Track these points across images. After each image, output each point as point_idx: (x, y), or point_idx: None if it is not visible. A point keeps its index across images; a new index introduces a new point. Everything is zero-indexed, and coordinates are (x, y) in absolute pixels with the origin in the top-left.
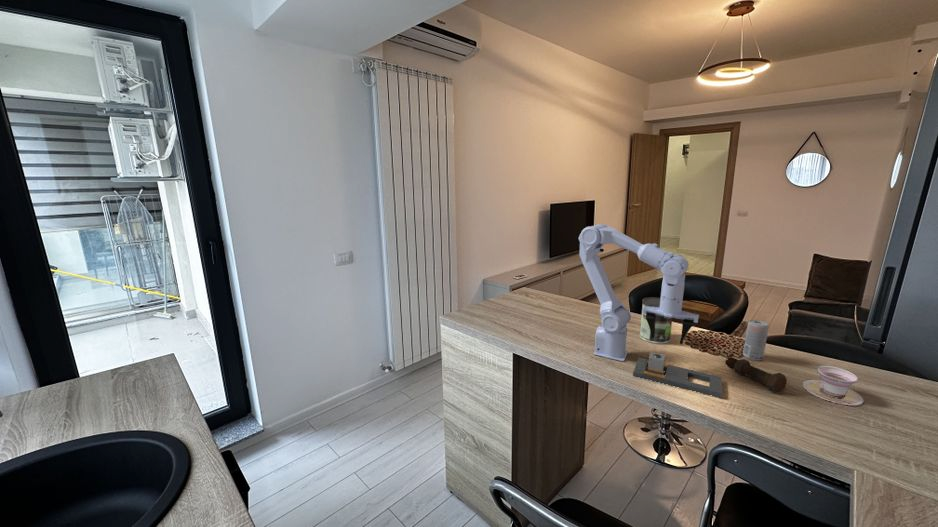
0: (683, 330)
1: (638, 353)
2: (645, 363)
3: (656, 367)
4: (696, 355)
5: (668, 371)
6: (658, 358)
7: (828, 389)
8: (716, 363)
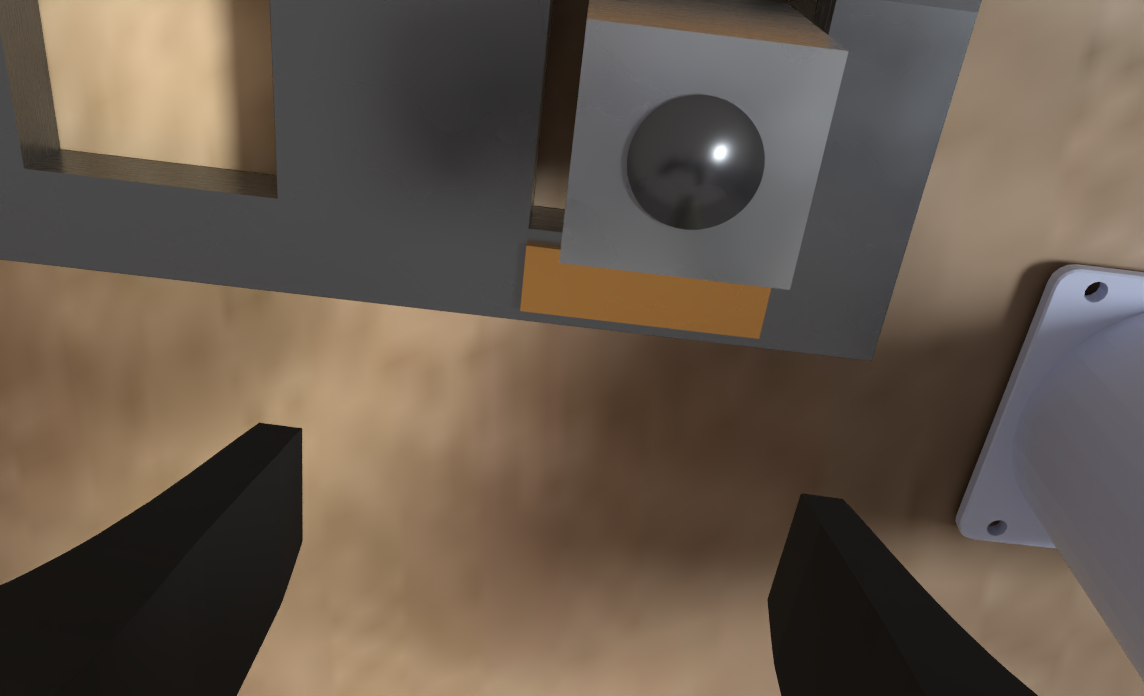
0: (81, 616)
1: None
2: None
3: (686, 9)
4: (257, 681)
5: (510, 121)
6: (679, 76)
7: None
8: None
